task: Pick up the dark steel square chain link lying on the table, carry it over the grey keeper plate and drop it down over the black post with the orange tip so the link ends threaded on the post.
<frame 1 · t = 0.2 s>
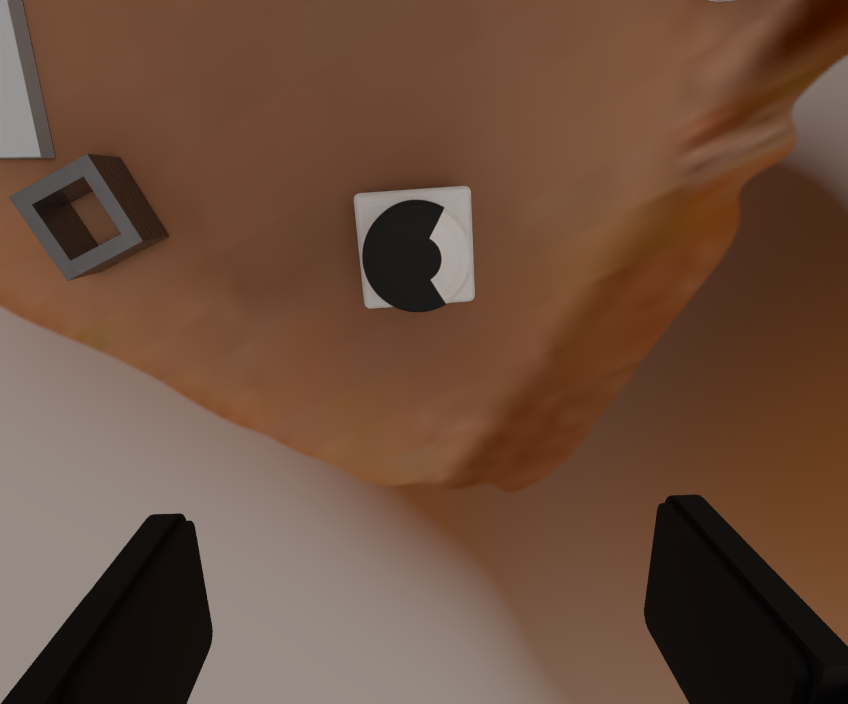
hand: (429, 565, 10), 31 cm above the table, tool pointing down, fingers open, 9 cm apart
medicine bottle: (414, 239, 39), on the table
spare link: (109, 216, 38), on the table
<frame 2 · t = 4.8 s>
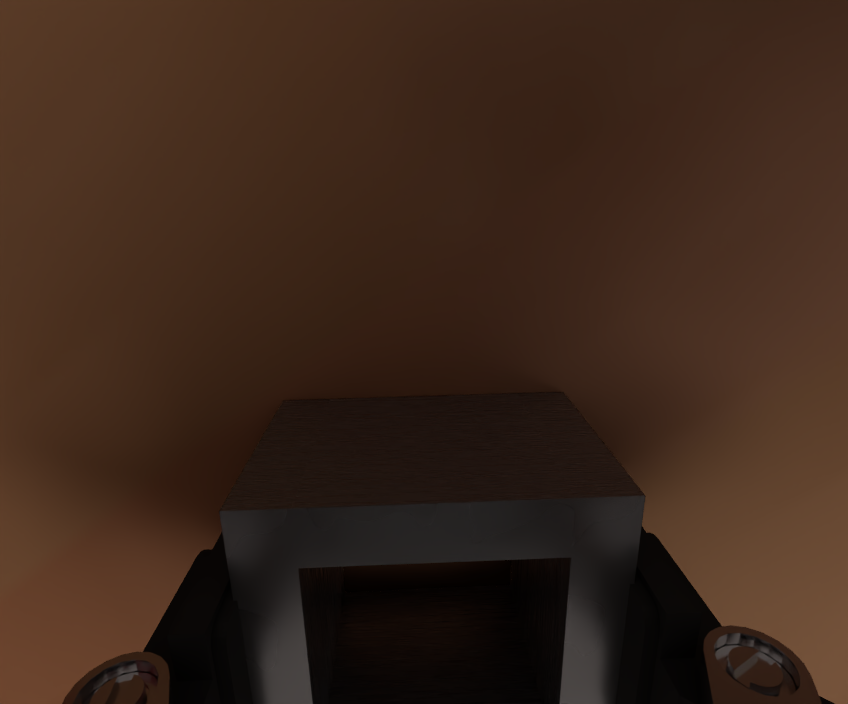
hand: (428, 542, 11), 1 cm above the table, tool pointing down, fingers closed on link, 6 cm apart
link: (426, 517, 12), on the table, touching gripper
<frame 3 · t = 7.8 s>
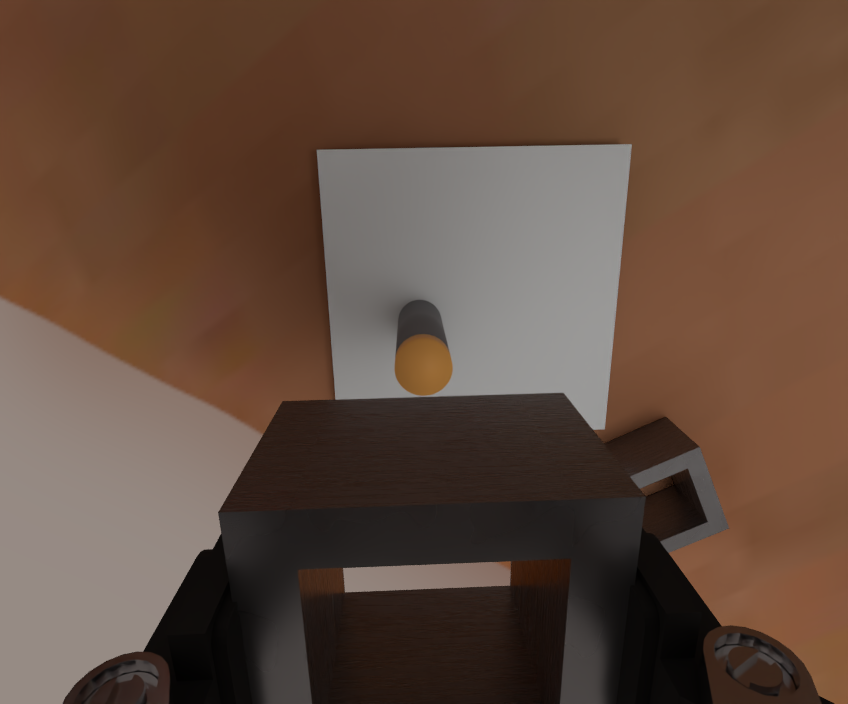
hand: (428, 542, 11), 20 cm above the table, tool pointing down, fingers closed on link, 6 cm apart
keeper: (419, 314, 31), on the table
link: (426, 517, 12), point 19 cm above the table, touching gripper
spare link: (636, 473, 34), on the table
when the fingers open (4 cm above the table, at t = 10.7 s): link drops 2 cm, resting on keeper.
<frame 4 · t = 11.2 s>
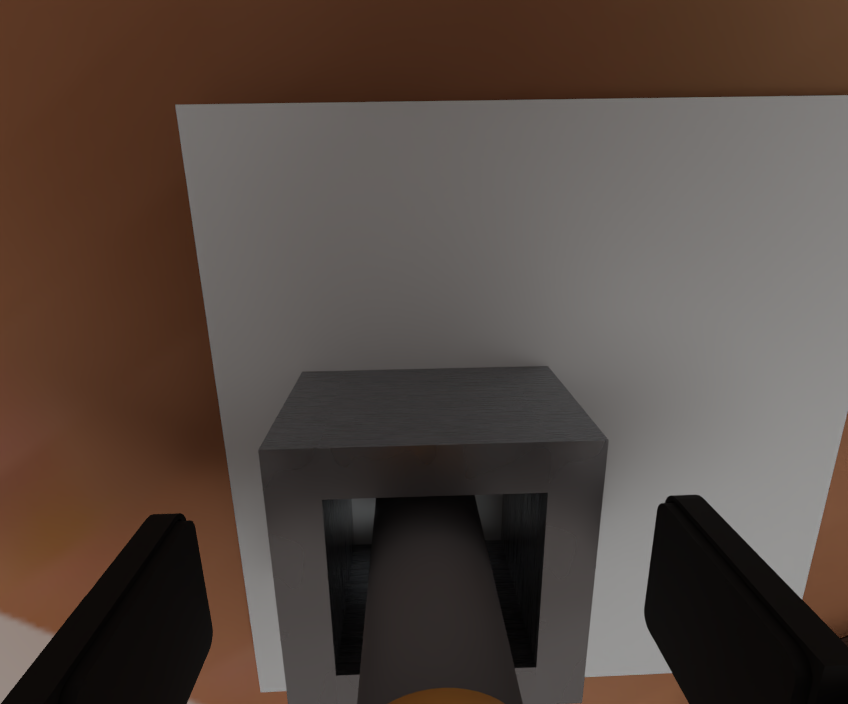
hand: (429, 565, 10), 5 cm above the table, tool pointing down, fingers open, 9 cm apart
keeper: (422, 451, 15), on the table
link: (427, 477, 14), point 1 cm above the table, touching keeper
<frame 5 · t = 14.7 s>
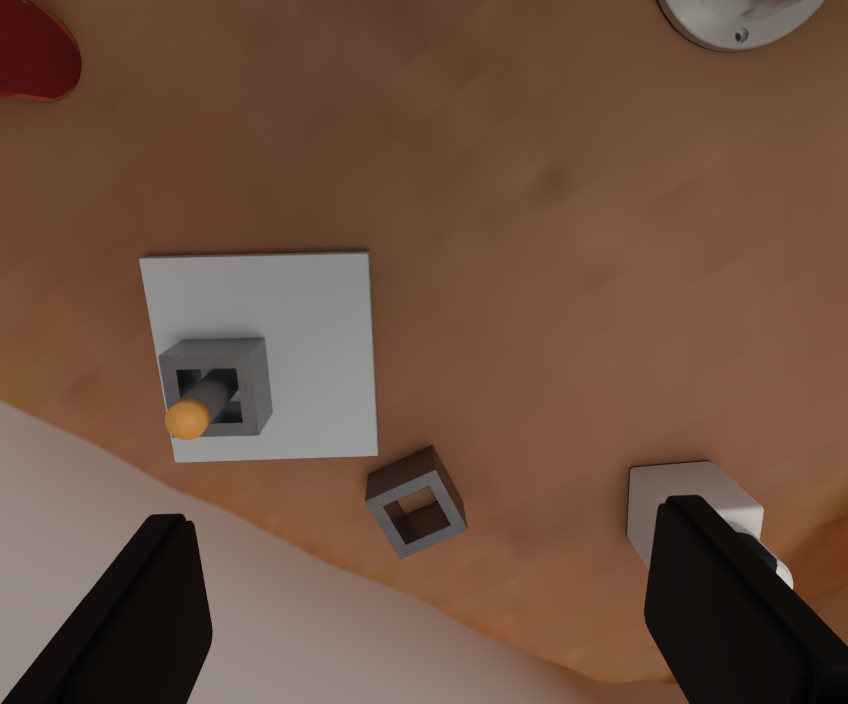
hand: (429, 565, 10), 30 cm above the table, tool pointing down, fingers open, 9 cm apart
medicine bottle: (666, 497, 46), on the table
keeper: (233, 370, 41), on the table
link: (228, 376, 39), point 1 cm above the table, touching keeper
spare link: (416, 487, 44), on the table
paper cup: (38, 57, 34), on the table
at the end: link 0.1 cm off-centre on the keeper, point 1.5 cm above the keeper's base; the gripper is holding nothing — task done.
